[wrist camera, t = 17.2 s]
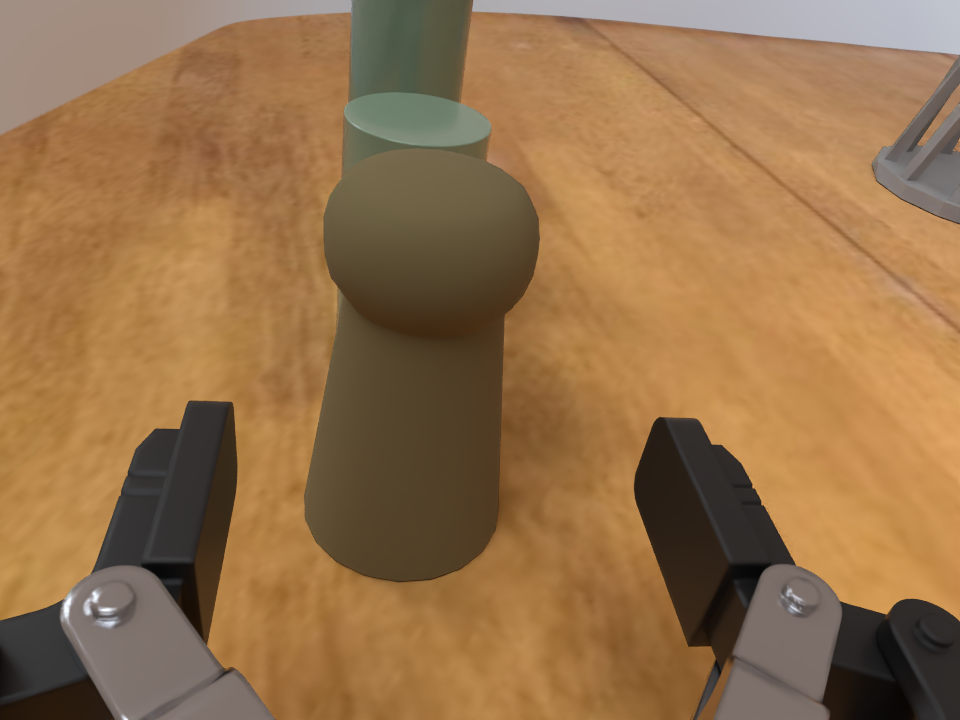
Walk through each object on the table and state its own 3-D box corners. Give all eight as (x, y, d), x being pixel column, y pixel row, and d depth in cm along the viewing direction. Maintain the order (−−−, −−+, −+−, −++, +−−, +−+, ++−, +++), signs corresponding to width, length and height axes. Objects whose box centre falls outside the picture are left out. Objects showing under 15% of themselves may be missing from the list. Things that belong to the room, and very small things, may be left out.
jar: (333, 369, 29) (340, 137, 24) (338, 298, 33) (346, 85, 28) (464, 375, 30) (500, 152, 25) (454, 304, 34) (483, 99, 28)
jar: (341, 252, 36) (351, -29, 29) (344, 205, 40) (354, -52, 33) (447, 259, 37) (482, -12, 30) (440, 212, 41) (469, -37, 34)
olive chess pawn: (421, 619, 21) (475, 263, 14) (260, 509, 23) (244, 159, 17) (533, 494, 25) (613, 178, 19) (388, 412, 27) (415, 104, 21)
